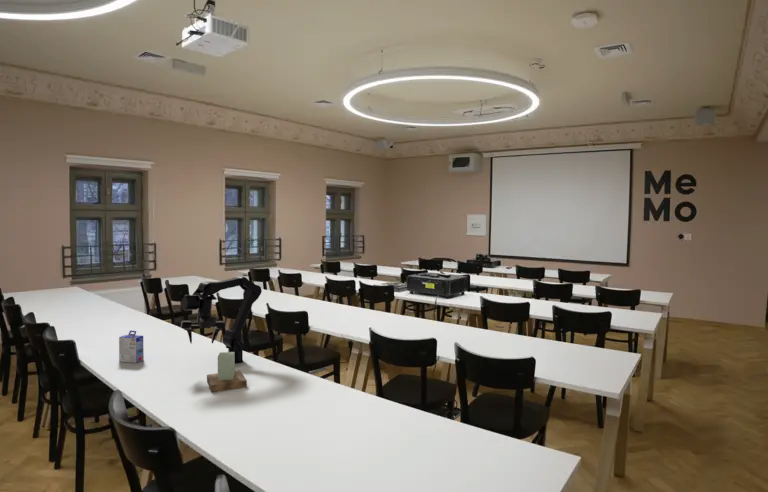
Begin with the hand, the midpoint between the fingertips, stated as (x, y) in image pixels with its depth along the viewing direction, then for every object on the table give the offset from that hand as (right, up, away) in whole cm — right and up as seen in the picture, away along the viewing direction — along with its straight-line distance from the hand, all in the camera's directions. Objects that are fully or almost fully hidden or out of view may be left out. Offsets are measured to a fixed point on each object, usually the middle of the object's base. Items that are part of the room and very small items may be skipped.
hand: (201, 343), depth 220 cm
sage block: (+17, -11, -17) cm, 26 cm away
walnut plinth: (+17, -14, -16) cm, 27 cm away
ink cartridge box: (-39, -11, +13) cm, 43 cm away
